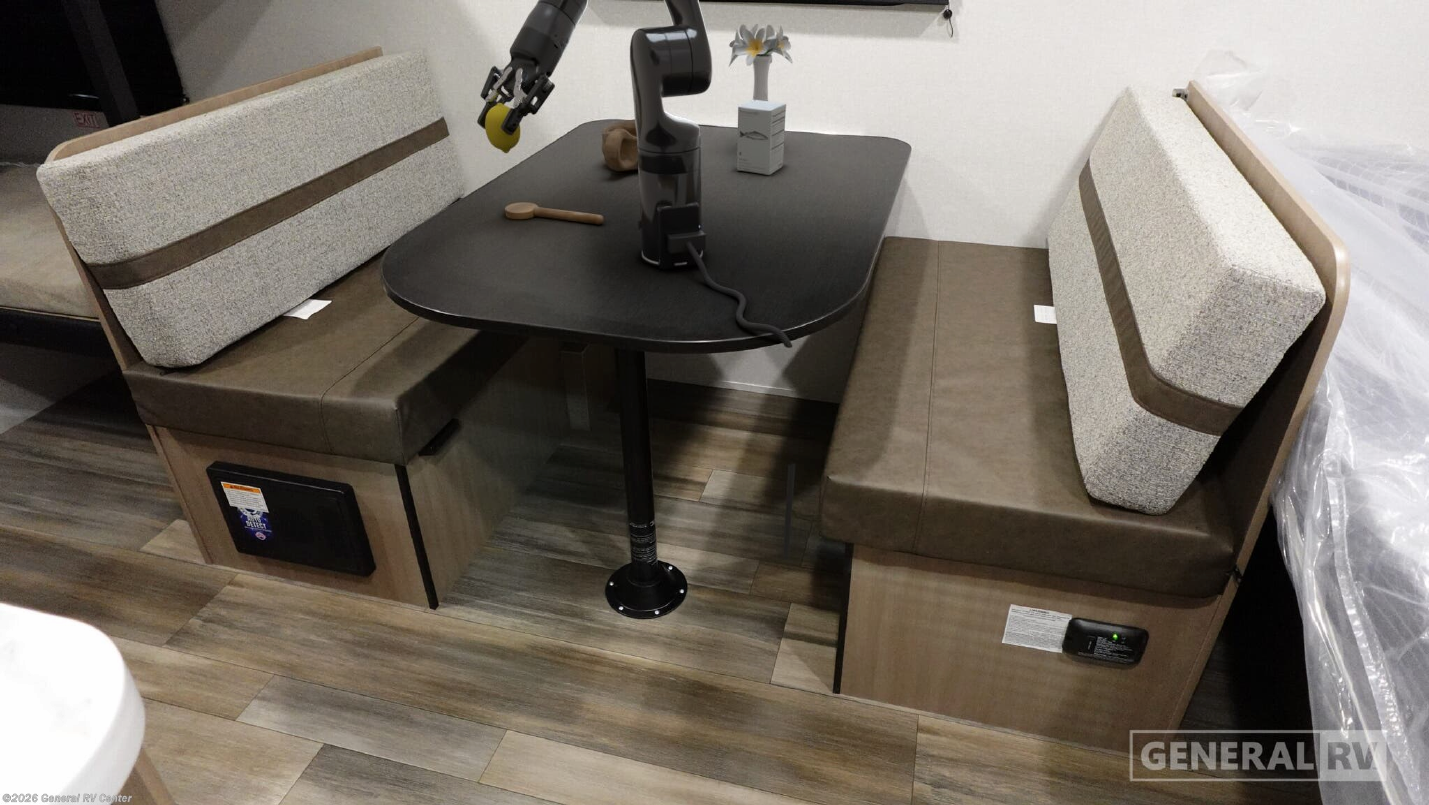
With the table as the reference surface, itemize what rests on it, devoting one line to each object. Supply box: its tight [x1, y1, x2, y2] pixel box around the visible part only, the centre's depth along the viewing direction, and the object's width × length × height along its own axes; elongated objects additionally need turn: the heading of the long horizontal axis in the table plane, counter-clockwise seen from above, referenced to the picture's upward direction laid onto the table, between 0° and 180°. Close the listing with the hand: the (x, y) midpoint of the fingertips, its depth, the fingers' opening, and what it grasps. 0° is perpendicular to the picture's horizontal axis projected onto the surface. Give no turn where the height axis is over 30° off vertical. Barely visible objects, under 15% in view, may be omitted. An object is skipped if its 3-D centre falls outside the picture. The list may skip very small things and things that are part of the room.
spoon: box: [504, 202, 604, 225], centre depth 152 cm, size 19×6×2 cm, turn 70°
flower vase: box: [728, 23, 793, 101], centre depth 184 cm, size 13×18×25 cm
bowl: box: [601, 118, 638, 172], centre depth 175 cm, size 18×14×10 cm
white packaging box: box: [736, 99, 787, 176], centre depth 174 cm, size 7×7×13 cm
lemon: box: [484, 103, 521, 154], centre depth 143 cm, size 6×6×8 cm
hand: (494, 128), depth 141 cm, fingers closed on lemon, 5 cm apart
